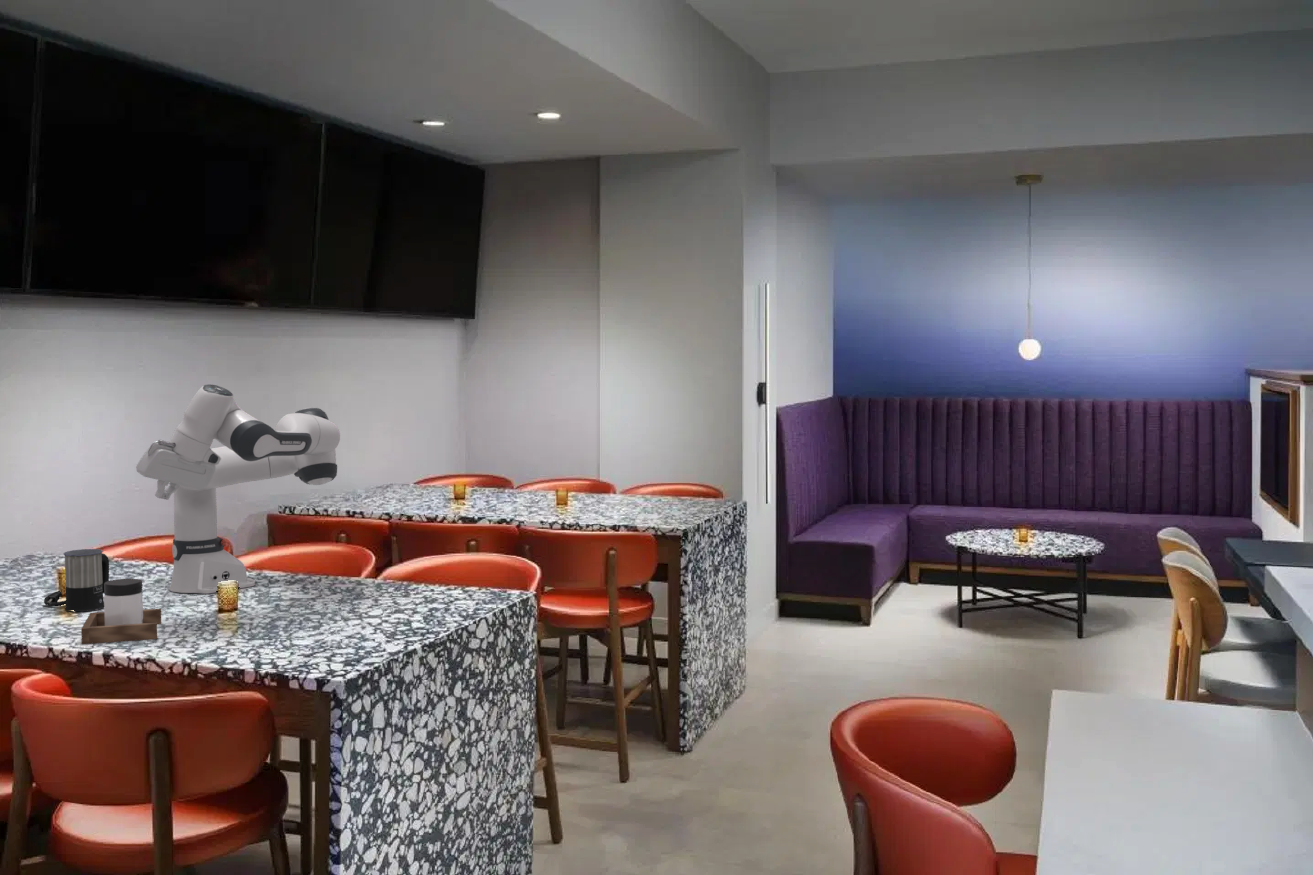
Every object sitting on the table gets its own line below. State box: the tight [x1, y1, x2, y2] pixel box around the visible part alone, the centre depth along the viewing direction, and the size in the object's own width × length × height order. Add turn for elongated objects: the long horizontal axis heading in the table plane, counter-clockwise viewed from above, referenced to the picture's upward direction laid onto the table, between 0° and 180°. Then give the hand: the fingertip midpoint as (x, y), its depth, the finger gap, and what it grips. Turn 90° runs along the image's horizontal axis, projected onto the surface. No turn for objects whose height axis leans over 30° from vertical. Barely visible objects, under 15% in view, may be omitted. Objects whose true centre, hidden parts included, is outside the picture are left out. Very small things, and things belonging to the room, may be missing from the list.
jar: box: [103, 578, 144, 626], centre depth 268 cm, size 9×8×12 cm
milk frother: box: [43, 548, 110, 612], centre depth 294 cm, size 14×16×15 cm
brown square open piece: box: [80, 608, 162, 645], centre depth 268 cm, size 16×17×4 cm
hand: (161, 497), depth 275 cm, fingers closed
